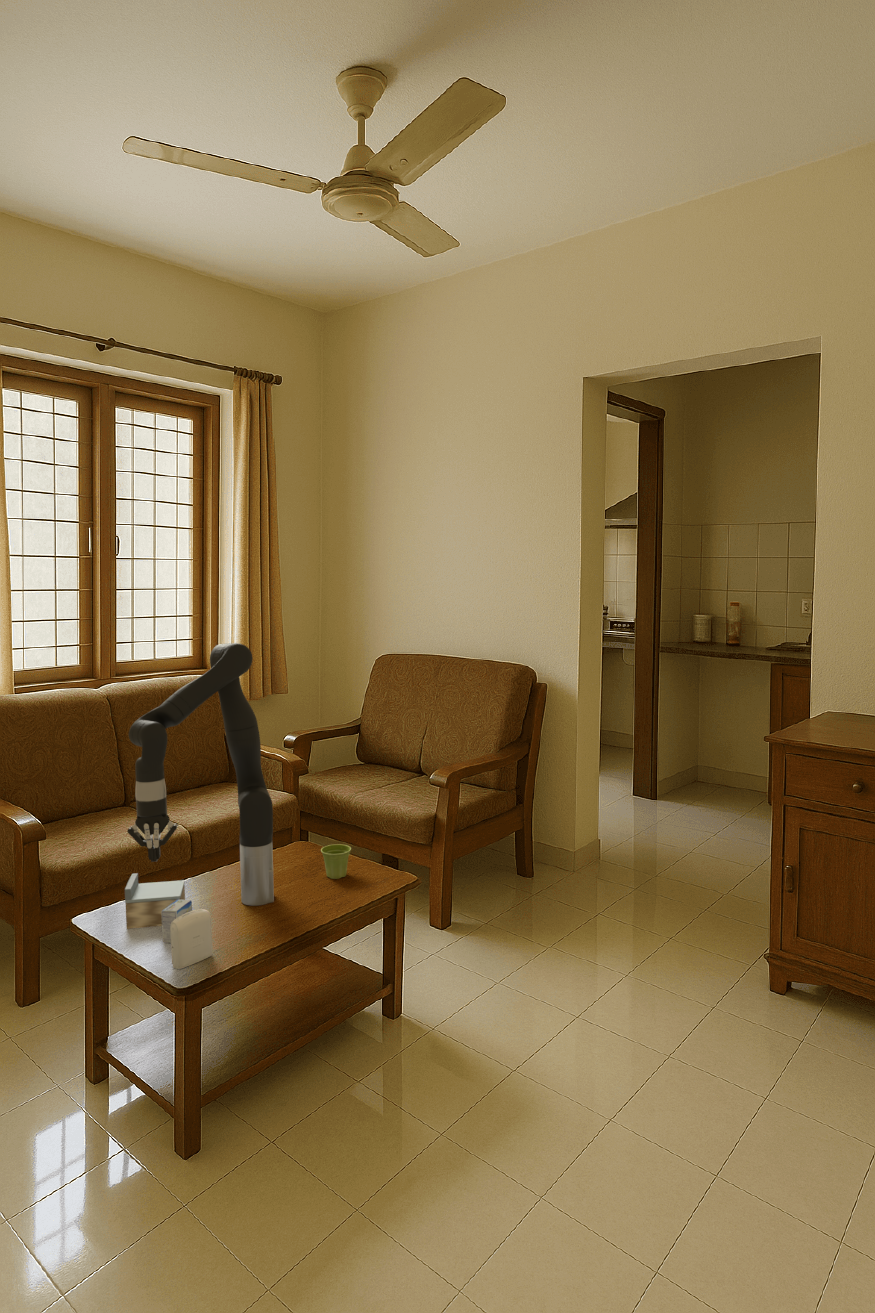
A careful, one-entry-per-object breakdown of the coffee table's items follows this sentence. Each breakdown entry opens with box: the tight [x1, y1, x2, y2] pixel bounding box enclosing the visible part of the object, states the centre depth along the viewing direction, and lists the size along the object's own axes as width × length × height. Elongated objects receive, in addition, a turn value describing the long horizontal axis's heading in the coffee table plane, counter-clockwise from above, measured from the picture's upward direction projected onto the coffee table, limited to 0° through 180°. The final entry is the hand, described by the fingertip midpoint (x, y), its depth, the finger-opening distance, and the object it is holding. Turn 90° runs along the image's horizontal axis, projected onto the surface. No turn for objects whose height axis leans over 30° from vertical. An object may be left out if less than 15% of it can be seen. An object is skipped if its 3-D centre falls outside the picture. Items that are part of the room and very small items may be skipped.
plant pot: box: [320, 843, 352, 880], centre depth 256 cm, size 9×9×9 cm
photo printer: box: [170, 908, 214, 970], centre depth 199 cm, size 10×4×12 cm, turn 140°
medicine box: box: [161, 899, 193, 944], centre depth 212 cm, size 8×4×9 cm, turn 168°
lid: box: [124, 872, 186, 904], centre depth 224 cm, size 14×12×4 cm
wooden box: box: [125, 884, 186, 930], centre depth 224 cm, size 14×11×7 cm
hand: (154, 860), depth 215 cm, fingers closed
